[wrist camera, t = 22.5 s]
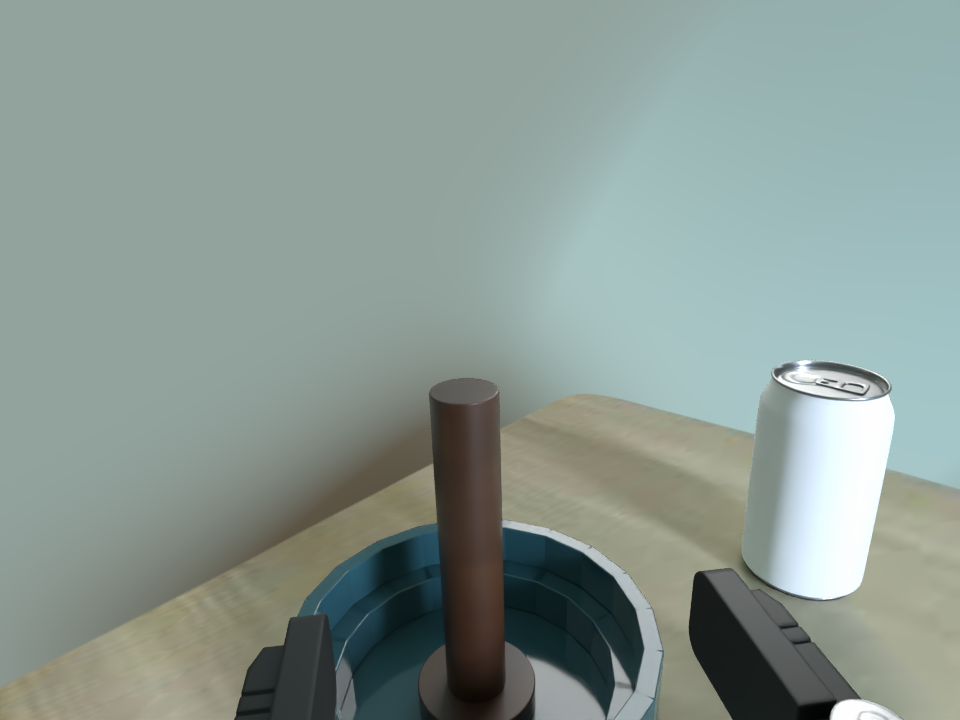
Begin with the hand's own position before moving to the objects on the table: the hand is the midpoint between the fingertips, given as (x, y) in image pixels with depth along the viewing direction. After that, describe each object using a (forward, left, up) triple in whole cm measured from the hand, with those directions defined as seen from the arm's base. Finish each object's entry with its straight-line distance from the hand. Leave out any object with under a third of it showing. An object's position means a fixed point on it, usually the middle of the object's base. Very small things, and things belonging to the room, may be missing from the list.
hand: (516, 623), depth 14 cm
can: (+9, +25, -15) cm, 31 cm away
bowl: (-5, +9, -15) cm, 18 cm away
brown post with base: (-5, +9, -14) cm, 18 cm away
